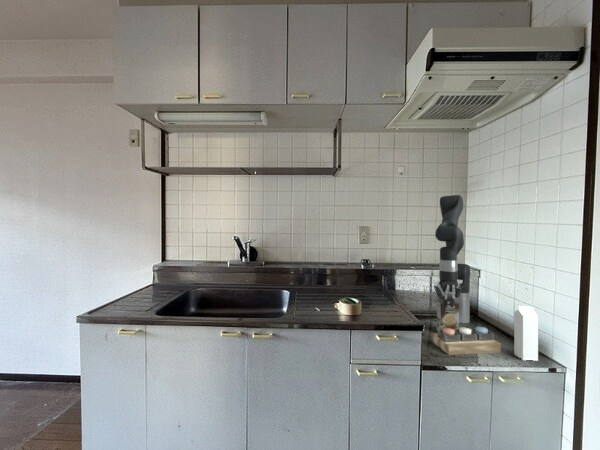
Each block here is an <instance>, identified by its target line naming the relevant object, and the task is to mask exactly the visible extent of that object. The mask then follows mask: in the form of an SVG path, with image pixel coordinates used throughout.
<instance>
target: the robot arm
mask: <svg viewBox="0 0 600 450" xmlns="http://www.w3.org/2000/svg"><path fill="white" fill-rule="evenodd" d="M439 207H440V213H441V217H442V219H441V223H440V224H439V225H438V226H437V228H436V230H435V238H436V240H437V241H439V242H444V243H445V246H442V247H440V248H439V264H438V265H439V281H438V284H437V285H433V289H434V290H435V293H436V295H437V296H438V298H440V299H441V301H442V304H443V306H444V307H448V301H450V307H454V305H455V302H457V303H458V304H459V324H469V323H471V322H470V321H471V320H470V313H471V312H470V311H471V310H470V306H471V305H470V285H471V284H470V283H471V281H470V280H471V267H470V265H469V264H466V263H464V264H463V263H458V255H459V254H460V252H461V250H462V249H463V247H464V244H465V238H464V233H463V231H462V230H461V228H460V227H459V219H460V216H461V214H462V212H463V210H464V200H463V197H462V196H461V195H460V194H453V195H444V196H441V197H440V198H439ZM458 281H462V282H461V283H458ZM448 295H449V299H448Z"/></svg>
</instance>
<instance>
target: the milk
mask: <svg viewBox="0 0 600 450" xmlns="http://www.w3.org/2000/svg"><path fill="white" fill-rule="evenodd" d="M513 314H514V315H513V318H514V321H513V323H514V324H513V326H514V328H513V333H514V341H513V343H514V345H513V346H514V347H513V349H514V351H513V352H514V353H513V354H514V356H515V357H518V358H519V359H520V358H521V359H520V360H521V361H526V360H533V361H534V362H535V361H536V362H539V316H538V314H537V313H536V312H535V310H534V306H530V305H529V306H527V305H526V306H525V305H523V306H522V305H519V306H518V309H517V310H514V312H513ZM533 361H532V362H533Z"/></svg>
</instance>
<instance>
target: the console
mask: <svg viewBox="0 0 600 450" xmlns="http://www.w3.org/2000/svg"><path fill="white" fill-rule="evenodd" d="M470 329H471V334H466V335H463V334H461V333H460V332H459V329H457V330H455V335H445V334H443V330H438V331H437V333H432V343H433V344H434V345H435V346H437V347H438V348H440V349H441V351H443V352H445V353H446V354H447V355H449V356H451V355H452V356H453V355H474V354H475V355H476V354H477V355H478V354H494V353H495V354H497V353H499V354H500V353H502V349H501V348H502V343H501V342H499V341H497V340H496V339H494V337H495V336H494V335H495V334H494V333H493V332H491V331H489V330H488V334H479V333H477V332H476V331H475V328H470Z"/></svg>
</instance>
